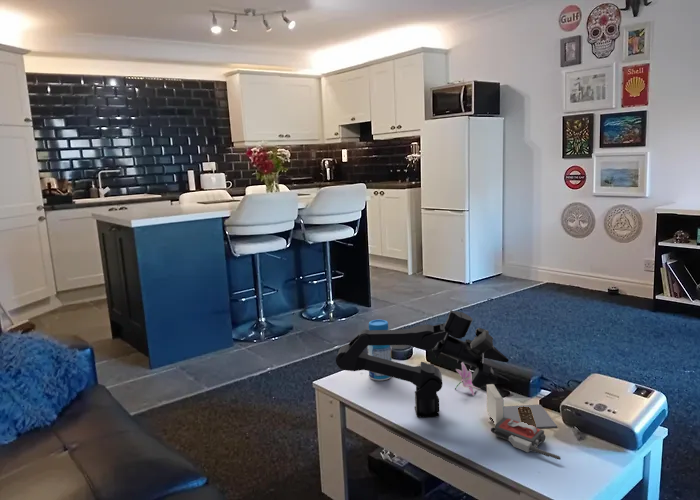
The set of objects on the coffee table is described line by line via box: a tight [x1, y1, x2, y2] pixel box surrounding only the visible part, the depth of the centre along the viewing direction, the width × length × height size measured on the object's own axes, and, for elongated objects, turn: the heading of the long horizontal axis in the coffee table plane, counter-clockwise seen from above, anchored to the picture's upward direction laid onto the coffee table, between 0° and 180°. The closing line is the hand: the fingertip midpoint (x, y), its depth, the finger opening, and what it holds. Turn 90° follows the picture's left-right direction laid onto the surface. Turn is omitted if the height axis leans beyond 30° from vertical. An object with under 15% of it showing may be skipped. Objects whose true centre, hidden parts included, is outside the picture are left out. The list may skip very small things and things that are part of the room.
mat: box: [504, 404, 558, 429], centre depth 156 cm, size 14×13×1 cm
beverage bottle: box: [366, 319, 393, 382], centre depth 188 cm, size 8×8×20 cm
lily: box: [454, 362, 480, 397], centre depth 174 cm, size 11×11×9 cm
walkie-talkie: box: [490, 418, 561, 460], centre depth 141 cm, size 9×4×20 cm
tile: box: [486, 384, 505, 426], centre depth 155 cm, size 2×10×8 cm, turn 1°
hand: (508, 370), depth 156 cm, fingers open, 9 cm apart
